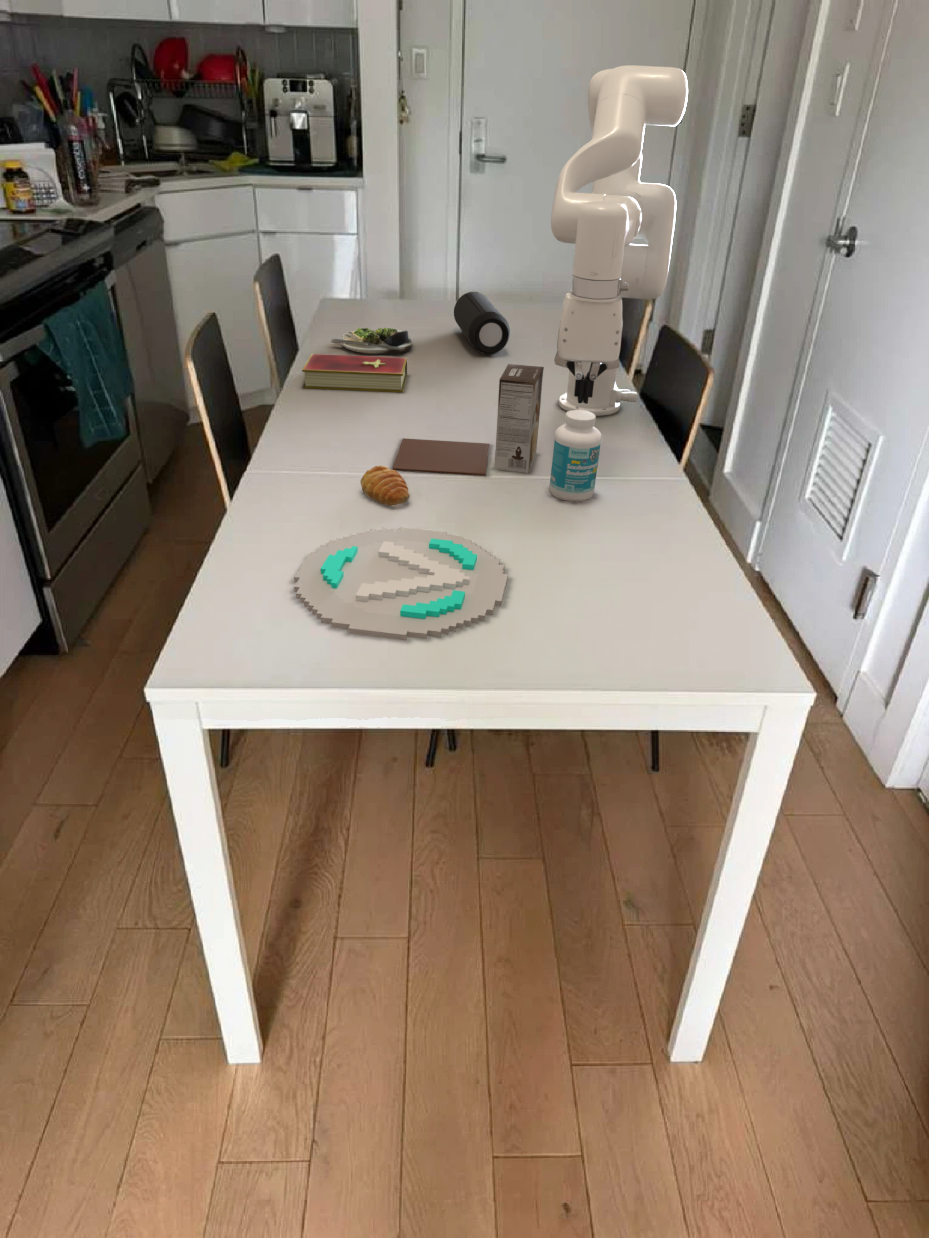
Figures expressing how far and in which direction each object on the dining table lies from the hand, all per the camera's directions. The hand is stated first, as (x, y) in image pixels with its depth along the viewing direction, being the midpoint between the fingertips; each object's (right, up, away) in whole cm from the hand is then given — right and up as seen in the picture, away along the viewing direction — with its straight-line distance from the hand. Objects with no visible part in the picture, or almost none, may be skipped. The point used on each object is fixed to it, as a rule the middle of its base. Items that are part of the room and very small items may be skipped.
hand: (582, 400), depth 150 cm
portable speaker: (-16, +32, +70) cm, 79 cm away
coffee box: (-11, -9, +7) cm, 16 cm away
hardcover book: (-43, +14, +41) cm, 62 cm away
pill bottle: (-2, -16, -4) cm, 17 cm away
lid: (-28, -32, -29) cm, 52 cm away
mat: (-24, -8, +7) cm, 26 cm away
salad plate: (-41, +29, +65) cm, 82 cm away
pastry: (-33, -17, -7) cm, 37 cm away
